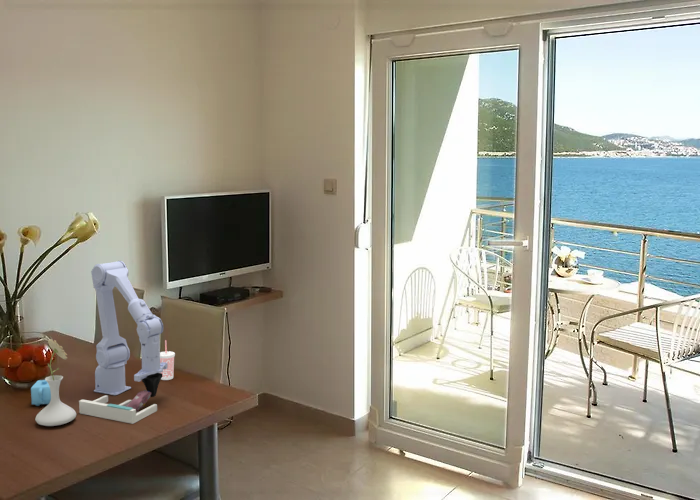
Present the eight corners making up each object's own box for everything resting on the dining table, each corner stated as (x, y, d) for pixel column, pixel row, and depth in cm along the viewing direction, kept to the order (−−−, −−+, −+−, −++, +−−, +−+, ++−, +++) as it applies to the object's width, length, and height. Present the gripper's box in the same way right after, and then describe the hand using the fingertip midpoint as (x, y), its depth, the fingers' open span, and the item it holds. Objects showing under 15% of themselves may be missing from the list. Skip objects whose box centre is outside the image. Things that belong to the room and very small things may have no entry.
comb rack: (79, 413, 215) (78, 400, 214) (105, 401, 225) (104, 388, 225) (132, 423, 207) (132, 410, 207) (157, 410, 218) (156, 397, 217)
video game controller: (133, 419, 214) (142, 401, 213) (120, 412, 214) (129, 393, 213) (147, 408, 224) (156, 390, 222) (135, 401, 224) (143, 383, 223)
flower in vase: (78, 425, 205) (74, 344, 202) (36, 432, 200) (31, 348, 197) (74, 410, 217) (70, 333, 213) (34, 416, 212) (30, 337, 208)
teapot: (42, 395, 230) (40, 373, 229) (61, 395, 231) (60, 373, 230) (30, 409, 218) (29, 386, 217) (50, 408, 219) (49, 385, 218)
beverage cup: (154, 380, 246) (153, 341, 244) (162, 374, 252) (161, 337, 250) (171, 381, 245) (170, 343, 243) (178, 375, 251) (177, 338, 249)
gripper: (146, 363, 214) (147, 405, 216) (174, 350, 227) (175, 390, 229) (128, 360, 216) (129, 402, 218) (157, 348, 230) (158, 387, 232)
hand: (152, 396), depth 224 cm, fingers closed
